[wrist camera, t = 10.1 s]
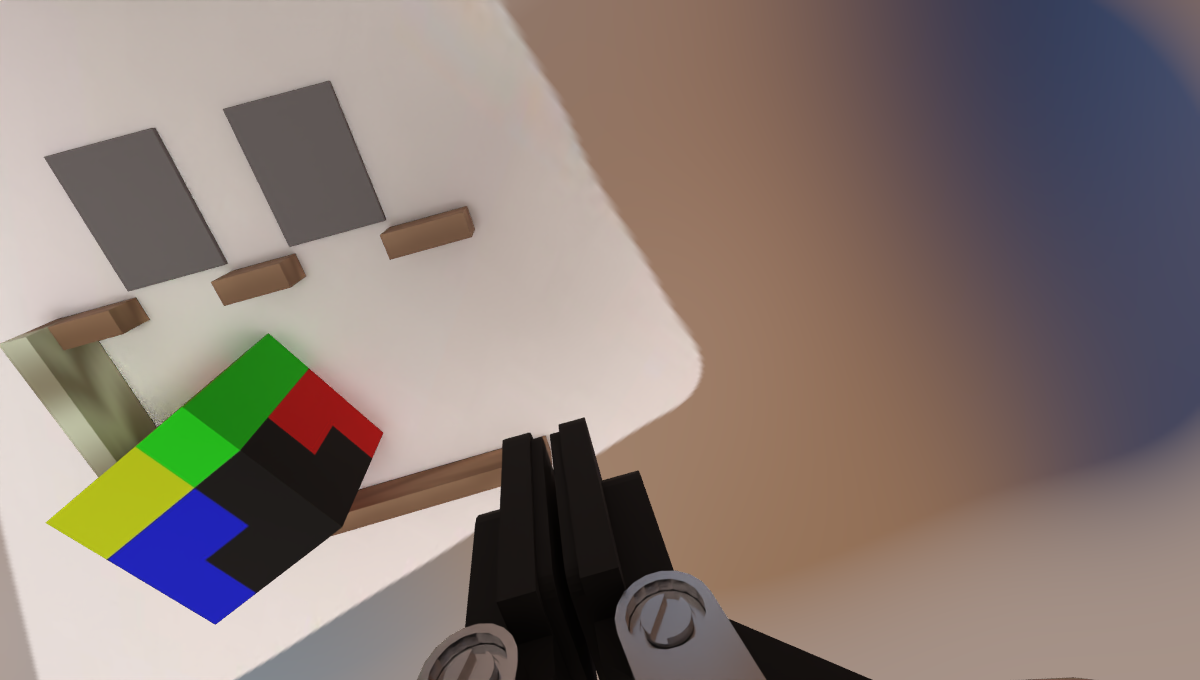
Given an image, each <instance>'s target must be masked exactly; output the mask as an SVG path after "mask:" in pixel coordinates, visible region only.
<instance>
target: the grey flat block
mask: <svg viewBox="0 0 1200 680" xmlns="http://www.w3.org/2000/svg"><path fill="white" fill-rule="evenodd" d="M44 158H45V160H46V161H47V163H48V164H49V166H50V168H51V169H52V171H53V172H54V174H55V176H56V177H57V179H58V180H59V182H60V184H61V185H62V187H63V188H64V190H65V192H66V193H67V195H68V196H69V198H70V200H71V201H72V203H73V204H74V206H75V208H76V209H77V211H78V212H79V214H80V216H81V217H82V219H83V220H84V222H85V224H86V225H87V227H88V228H89V230H90V232H91V233H92V235H93V236H94V238H95V240H96V241H97V243H98V244H99V246H100V248H101V249H102V251H103V252H104V254H105V256H106V257H107V259H108V260H109V262H110V264H111V265H112V267H113V268H114V270H115V272H116V273H117V275H118V276H119V278H120V280H121V281H122V283H123V284H124V286H125V288H126V289H127V291H132V290H135V289H139V288H142V287H146V286H150V285H153V284H157V283H161V282H164V281H168V280H171V279H175V278H179V277H182V276H186V275H190V274H193V273H197V272H200V271H204V270H208V269H211V268H215V267H219V266H222V265H226V264H228V263H227V261H226V260H225V258H224V256H223V254H222V252H221V250H220V248H219V247H218V245H217V243H216V241H215V239H214V237H213V235H212V233H211V232H210V230H209V228H208V226H207V224H206V222H205V220H204V219H203V217H202V215H201V213H200V211H199V209H198V207H197V206H196V204H195V202H194V200H193V198H192V196H191V194H190V192H189V191H188V189H187V187H186V185H185V183H184V181H183V179H182V178H181V176H180V174H179V172H178V170H177V168H176V166H175V165H174V163H173V161H172V159H171V157H170V155H169V153H168V151H167V150H166V148H165V146H164V144H163V142H162V140H161V138H160V137H159V135H158V133H157V131H156V129H155V128H151V129H147V130H143V131H139V132H136V133H132V134H128V135H124V136H121V137H117V138H113V139H109V140H106V141H102V142H98V143H95V144H91V145H87V146H83V147H80V148H76V149H72V150H68V151H65V152H61V153H57V154H53V155H50V156H46V157H44Z"/></svg>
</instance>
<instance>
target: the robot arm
mask: <svg viewBox="0 0 1200 680" xmlns="http://www.w3.org/2000/svg"><path fill="white" fill-rule="evenodd" d="M550 441H551V450H552V459H553V467H552V464H551V461H550V458H549V455H548V452H547V449H546V446H545V442H544V440H543V438H542V437H539V438H535V439H533V437H532V435H531V433H526V434H523V435H519V436H515V437H512V438H508V439H504V440H503V444H502V470H501V496H500V509H499V510H495V511H492V512H488V513H485V514H481V515H478V517H477V518H476V523H475V532H474V543H473V553H472V564H471V573H470V584H469V594H468V604H467V614H466V624H465V628H463V629H461V630H459V631H457V632H456V633H454V634H452V635H450V636H449V637H448V638H446V640H444V641H443V642H442V643H441V644H440V645H438V646H437V647H436V648H435V649H434V651H433V652H432V653H431V655H430V656H429V657H428V659H427V660H426V661H425V663H424V665H423V667H422V670H421V672H420V674H419V676H418V679H417V680H597V675H596V671H597V674H598V677H599V680H872V679H869V678H867V677H864V676H862V675H860V674H857V673H855V672H852V671H850V670H848V669H845V668H843V667H841V666H839V665H836V664H834V663H831V662H829V661H827V660H824V659H822V658H820V657H817V656H815V655H813V654H810V653H808V652H805V651H803V650H801V649H798V648H796V647H794V646H791V645H789V644H787V643H784V642H782V641H780V640H777V639H775V638H772V637H770V636H768V635H765V634H763V633H761V632H758V631H756V630H753V629H751V628H749V627H747V626H744V625H742V624H740V623H737V622H735V621H733V620H730V619H728V618H727V616H726V615H725V613H724V611H723V610H722V608H721V607H720V605H719V604H718V602H717V600H716V599H715V597H714V595H713V594H712V592H711V591H710V590H709V589H708V588H707V586H706V585H705V584H704V583H703V582H702V581H700V580H699V579H697V578H695V577H694V576H692V575H690V574H687V573H683V572H679V571H674V570H673V567H672V564H671V561H670V558H669V556H668V553H667V550H666V547H665V544H664V541H663V538H662V535H661V533H660V530H659V527H658V524H657V521H656V518H655V515H654V512H653V510H652V507H651V504H650V501H649V498H648V495H647V493H646V489H645V487H644V484H643V481H642V478H641V475H640V473H639V471H635V472H631V473H628V474H624V475H620V476H617V477H613V478H610V479H606V480H602V478H601V474H600V470H599V467H598V463H597V460H596V456H595V452H594V449H593V445H592V442H591V438H590V435H589V431H588V427H587V424H586V420H585V417H584V418H581V419H577V420H573V421H570V422H566V423H563V424H559V432H557V433H553V434H550ZM553 469H554V470H553ZM1028 680H1092V679H1083V678H1074V677H1072V678H1051V679H1028Z"/></svg>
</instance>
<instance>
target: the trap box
mask: <svg viewBox="0 0 1200 680" xmlns="http://www.w3.org/2000/svg"><path fill="white" fill-rule="evenodd" d="M474 230H475V228H474V225H473V222H472V219H471V216H470V213H469V210H468V208H467V206H465V207H462V208H458V209H455V210H451V211H447V212H444V213H440V214H437V215H433V216H429V217H426V218H422V219H418V220H415V221H411V222H408V223H404V224H400V225H397V226H393V227H389V228H388V229H387V230H386V231H385V232H383V233H382V234H381V235H380V237H381V239H382V242H383V244H384V246H385V249H386V251H387V254H388V256H389V259H390V260H391V259H394V258H398V257H402V256H405V255H409V254H412V253H416V252H420V251H423V250H427V249H430V248H434V247H438V246H441V245H445V244H448V243H452V242H456V241H459V240H463V239H466V238H470V237H472V235H473V233H474ZM304 277H306V275H305V273H304V271H303V269H302V267H301V265H300V263H299V261H298V259H297V257H296V255H295V254H292V255H288V256H285V257H281V258H277V259H274V260H270V261H266V262H263V263H259V264H256V265H252V266H248V267H245V268H241V269H238V270H234V271H231V272H229V273H227V274H225V275H223V276H221V277H220V278H218V279H216V280H214V281H212V282H211V283H212V285H213V287H214V289H215V291H216V292H217V294H218V296H219V298H220V299H221V301H222V303H223V305H224V306H226V305H229V304H233V303H236V302H240V301H243V300H247V299H251V298H254V297H258V296H261V295H265V294H269V293H272V292H276V291H279V290H283V289H287V288H290V287H292V286H293V285H295V284H296V283H297V282H299V281H300V280H301V279H303V278H304ZM148 320H149V318H148V316H147V315H146V313H145V312H144V310H143V308H142V307H141V305H140V304H139V302H138V300H137V299H136V298H133V299H129V300H125V301H122V302H118V303H115V304H111V305H107V306H104V307H100V308H96V309H93V310H89V311H86V312H82V313H78V314H75V315H71V316H68V317H64V318H60V319H57V320H54V321H52V322H49V323H47V324H45V325H42V326H40V327H38V328H35V329H33V330H31V331H28V332H26V333H24V334H21V335H19V336H17V337H14V338H12V339H10V340H8V341H5V342H3V343H1V344H0V348H1V349H2V350H3V352H4V353H5V354H6V355H7V357H8V358H9V359H10V361H11V362H12V363H13V365H14V366H15V367H16V369H17V370H18V371H19V373H20V374H21V375H22V377H23V378H24V379H25V381H26V382H27V383H28V385H29V386H30V387H31V389H32V390H33V391H34V393H35V394H36V395H37V397H38V398H39V399H40V401H41V402H42V403H43V405H44V406H45V407H46V408H47V410H48V411H49V412H50V414H51V415H52V416H53V418H54V419H55V420H56V422H57V423H58V424H59V426H60V427H61V428H62V430H63V431H64V432H65V434H66V435H67V436H68V438H69V439H70V440H71V442H72V443H73V444H74V446H75V447H76V448H77V450H78V451H79V452H80V454H81V455H82V456H83V458H84V459H85V460H86V461H87V463H88V464H89V465H90V467H91V468H92V469H93V471H94V472H95V473H96V475H97V476H98V477H100V476H101V475H102V474H103V473H104V472H106V471H107V470H108V469H109V468H110V467H111V466H113V465H114V464H115V463H116V462H117V461H119V460H120V459H121V458H122V457H123V456H124V455H126V454H127V453H128V452H129V451H130V450H131V449H133V448H134V447H135V446H136V445H137V444H138V443H140V442H141V441H142V440H143V439H144V438H145V437H147V436H148V435H149V434H150V433H151V432H153V431H154V430H155V429H156V426H155V425H154V423H153V422H152V420H151V419H150V417H149V416H148V414H147V413H146V411H145V410H144V408H143V407H142V405H141V404H140V403H139V401H138V400H137V398H136V397H135V395H134V394H133V392H132V391H131V389H130V388H129V386H128V385H127V383H126V382H125V380H124V379H123V377H122V376H121V374H120V373H119V371H118V370H117V368H116V367H115V365H114V364H113V362H112V361H111V359H110V358H109V356H108V355H107V353H106V352H105V351H104V349H103V348H102V346H101V345H100V343H99V342H98V341H100V340H103V339H107V338H111V337H114V336H118V335H121V334H124V333H126V332H128V331H130V330H131V329H133V328H135V327H137V326H139V325H141V324H142V323H144V322H146V321H148ZM542 438H543V440H544V442H545V446H546V449H547V452H548V455H549V458H550V461H551V464H552V457H551V450H550V447H549V444H548V442H547V439H546V436H543V437H542ZM501 470H502V448H501V449H498V450H495V451H491V452H488V453H484V454H481V455H477V456H474V457H470V458H467V459H464V460H460V461H457V462H453V463H450V464H446V465H443V466H439V467H436V468H433V469H429V470H426V471H422V472H419V473H415V474H412V475H408V476H405V477H402V478H398V479H395V480H391V481H388V482H384V483H381V484H378V485H374V486H371V487H367V488H364V489H360V490H358V492H357V495H356V497H355V499H354V502H353V504H352V506H351V508H350V511H349V513H348V515H347V518H346V520H345V522H344V525H343V527H342V528H341V529H339V530H338V531H337V532H335V533H334V534H333V535H337V534H340V533H343V532H347V531H350V530H354V529H357V528H361V527H364V526H367V525H371V524H374V523H378V522H381V521H384V520H388V519H391V518H395V517H398V516H401V515H405V514H408V513H412V512H415V511H419V510H422V509H425V508H429V507H432V506H436V505H439V504H442V503H446V502H449V501H453V500H456V499H460V498H463V497H466V496H470V495H473V494H477V493H480V492H483V491H487V490H490V489H494V488H497V487H501ZM333 535H332V536H333Z"/></svg>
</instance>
